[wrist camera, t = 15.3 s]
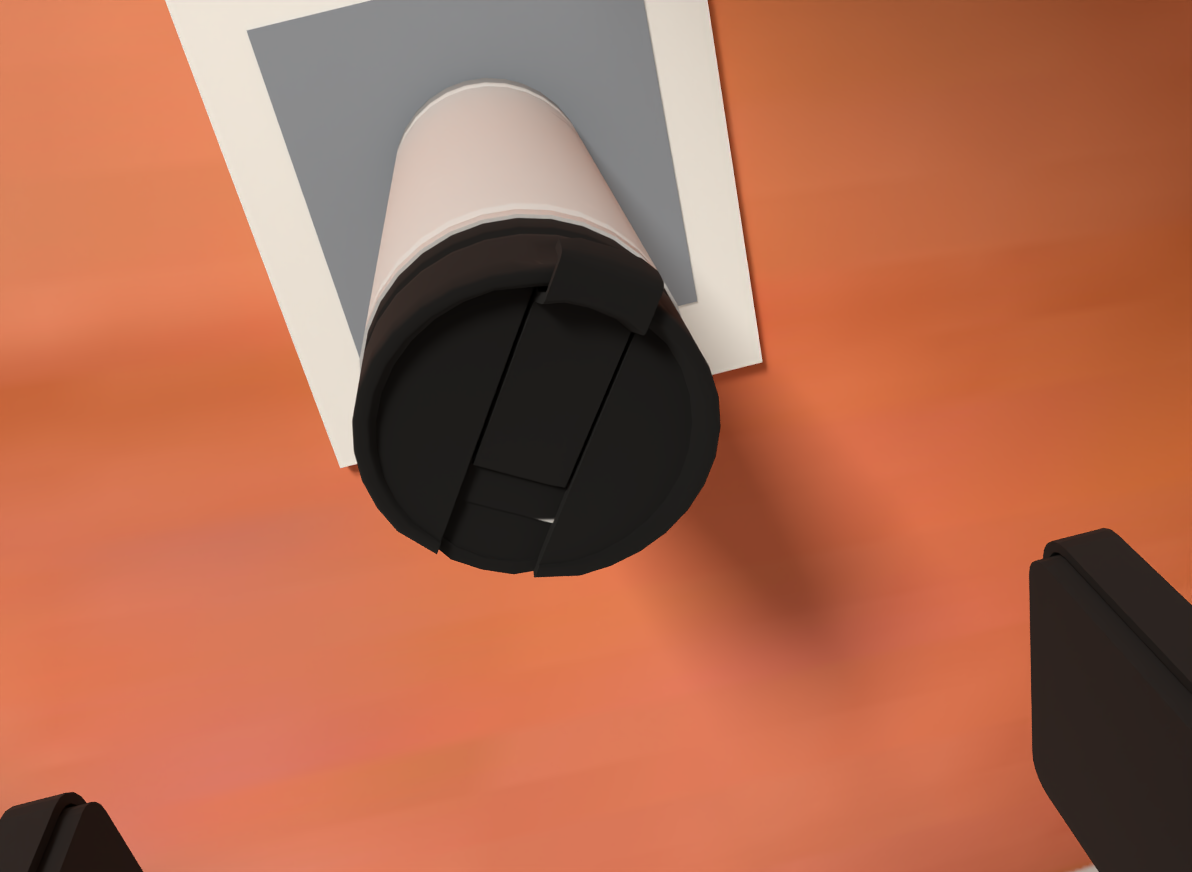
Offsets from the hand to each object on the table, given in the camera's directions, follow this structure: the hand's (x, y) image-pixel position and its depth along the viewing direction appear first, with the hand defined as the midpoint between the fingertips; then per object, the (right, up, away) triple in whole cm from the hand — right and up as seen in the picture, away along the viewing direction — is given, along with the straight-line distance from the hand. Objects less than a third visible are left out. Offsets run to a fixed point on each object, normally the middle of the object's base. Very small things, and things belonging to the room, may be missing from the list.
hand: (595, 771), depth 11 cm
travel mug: (-3, +12, +25) cm, 28 cm away
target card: (-4, +12, +25) cm, 28 cm away
